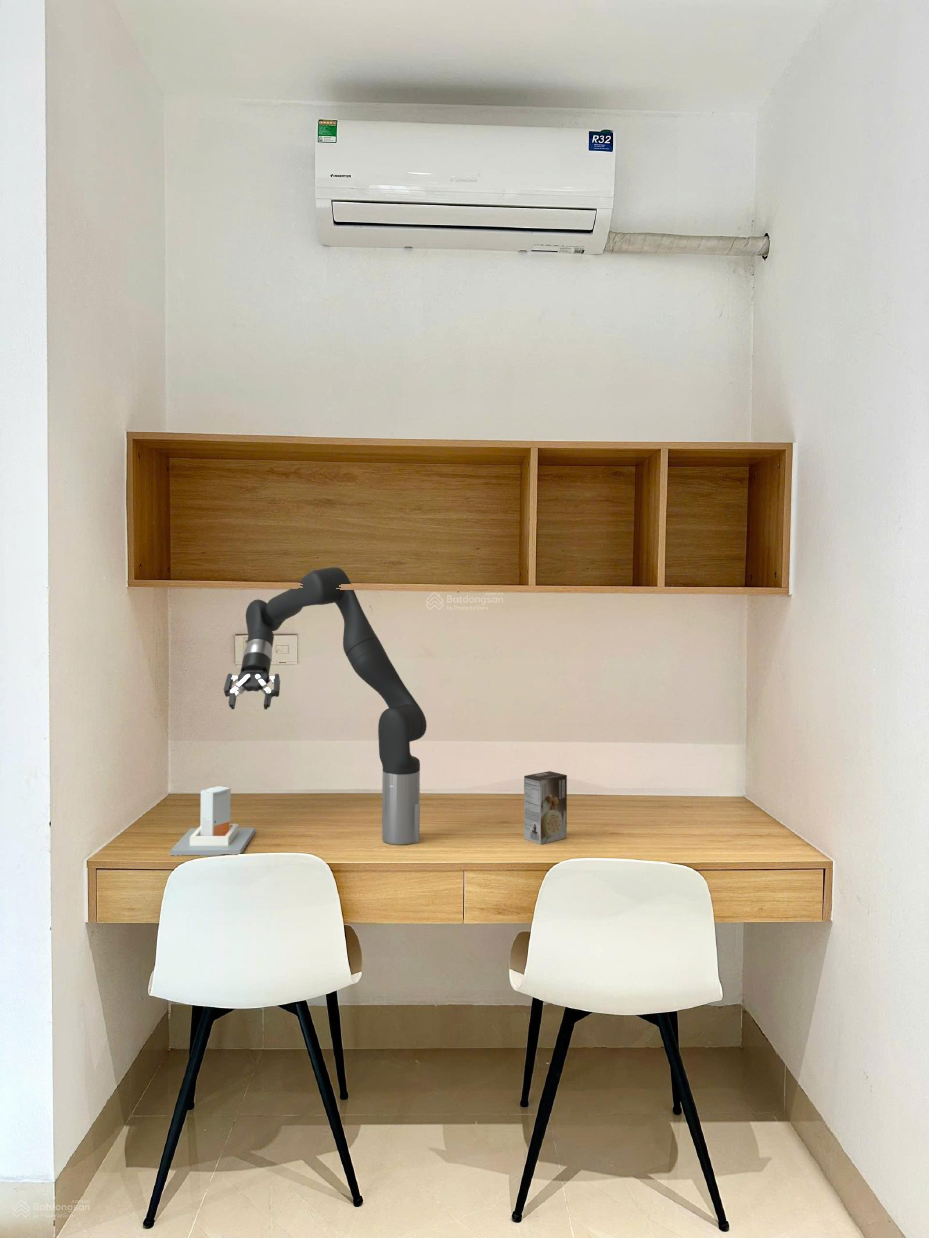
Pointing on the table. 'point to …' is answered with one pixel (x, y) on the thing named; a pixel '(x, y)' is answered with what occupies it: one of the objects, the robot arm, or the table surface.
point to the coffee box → (545, 807)
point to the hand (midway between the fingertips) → (248, 707)
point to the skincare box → (215, 811)
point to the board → (213, 842)
